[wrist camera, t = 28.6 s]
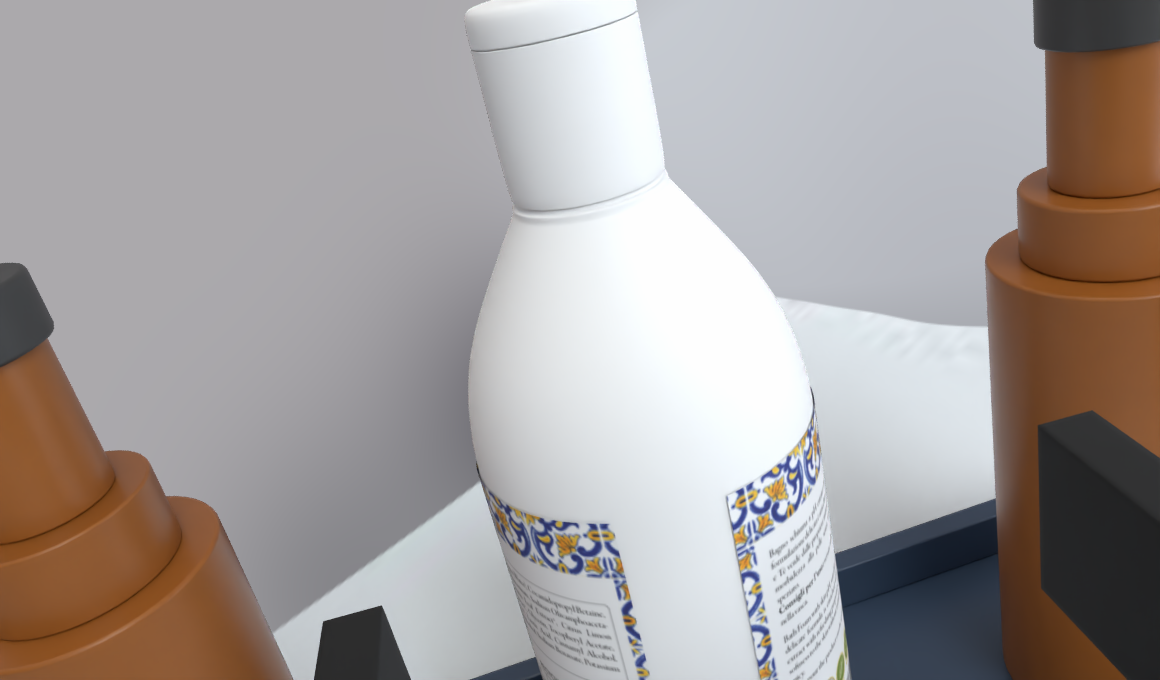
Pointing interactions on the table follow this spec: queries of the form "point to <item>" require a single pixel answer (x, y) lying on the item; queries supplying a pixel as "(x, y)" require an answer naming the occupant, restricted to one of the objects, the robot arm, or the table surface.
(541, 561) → the bath foam
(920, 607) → the tray
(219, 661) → the amber bottle near
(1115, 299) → the amber bottle far
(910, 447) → the table surface
